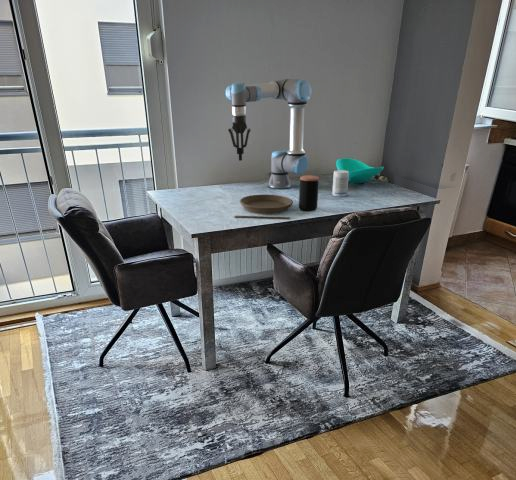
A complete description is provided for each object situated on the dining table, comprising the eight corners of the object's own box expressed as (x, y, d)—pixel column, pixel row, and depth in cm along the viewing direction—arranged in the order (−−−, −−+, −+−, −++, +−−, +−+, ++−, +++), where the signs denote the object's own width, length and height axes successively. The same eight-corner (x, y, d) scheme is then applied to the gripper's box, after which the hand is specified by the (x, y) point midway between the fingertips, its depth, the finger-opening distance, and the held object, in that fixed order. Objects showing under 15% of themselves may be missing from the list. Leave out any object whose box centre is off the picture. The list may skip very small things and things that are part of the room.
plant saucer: (295, 202, 286) (296, 195, 283) (288, 217, 260) (289, 208, 257) (246, 200, 291) (246, 192, 288) (234, 213, 265) (234, 205, 262)
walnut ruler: (234, 217, 258) (234, 216, 258) (235, 216, 261) (235, 215, 260) (289, 219, 256) (289, 218, 256) (289, 218, 258) (289, 217, 258)
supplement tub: (349, 195, 301) (352, 171, 293) (338, 197, 296) (341, 173, 289) (339, 192, 308) (341, 169, 300) (328, 194, 303) (330, 171, 296)
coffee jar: (318, 207, 276) (320, 176, 267) (314, 212, 267) (316, 179, 258) (301, 206, 279) (302, 174, 270) (296, 210, 270) (298, 178, 261)
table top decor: (325, 179, 343) (326, 160, 336) (355, 175, 355) (357, 156, 348) (359, 190, 314) (362, 169, 307) (391, 186, 325) (394, 165, 318)
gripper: (226, 115, 256) (228, 161, 269) (250, 115, 255) (251, 161, 267) (228, 114, 262) (230, 158, 275) (251, 114, 261) (252, 158, 274)
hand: (240, 160), depth 271 cm, fingers closed
